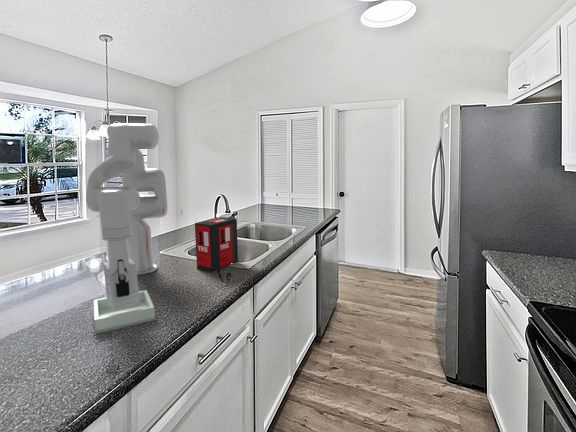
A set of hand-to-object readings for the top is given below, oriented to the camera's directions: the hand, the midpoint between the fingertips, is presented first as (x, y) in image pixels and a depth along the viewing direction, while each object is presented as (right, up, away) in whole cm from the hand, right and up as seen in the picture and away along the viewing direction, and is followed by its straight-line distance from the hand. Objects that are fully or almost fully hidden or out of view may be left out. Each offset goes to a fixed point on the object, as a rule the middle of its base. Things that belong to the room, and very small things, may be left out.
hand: (122, 290), depth 98 cm
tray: (0, -8, +1) cm, 8 cm away
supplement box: (0, -4, +1) cm, 4 cm away
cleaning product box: (+18, 0, +49) cm, 52 cm away
